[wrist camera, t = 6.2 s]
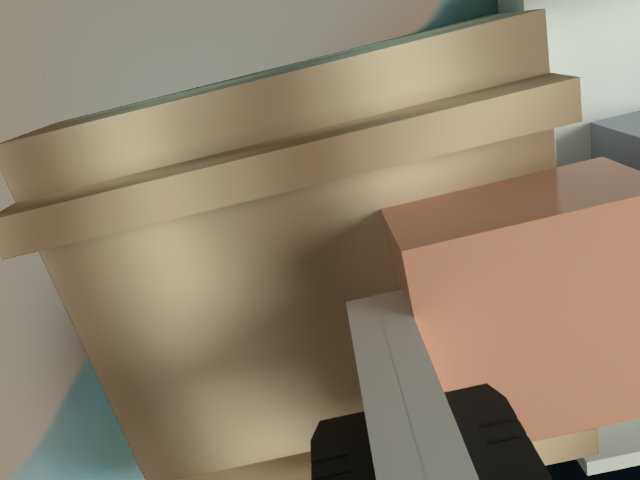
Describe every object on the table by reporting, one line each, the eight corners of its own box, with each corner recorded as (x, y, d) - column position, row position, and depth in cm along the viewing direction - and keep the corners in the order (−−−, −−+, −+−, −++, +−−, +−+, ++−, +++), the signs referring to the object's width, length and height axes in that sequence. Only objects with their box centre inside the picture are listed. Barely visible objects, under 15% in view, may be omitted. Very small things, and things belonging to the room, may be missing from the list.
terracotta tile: (416, 388, 16) (441, 461, 14) (380, 209, 14) (400, 251, 11) (610, 345, 16) (676, 411, 13) (602, 156, 14) (679, 186, 11)
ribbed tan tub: (194, 454, 22) (162, 581, 17) (57, 122, 17) (-47, 159, 12) (528, 382, 21) (601, 491, 16) (488, 14, 16) (576, 4, 11)
